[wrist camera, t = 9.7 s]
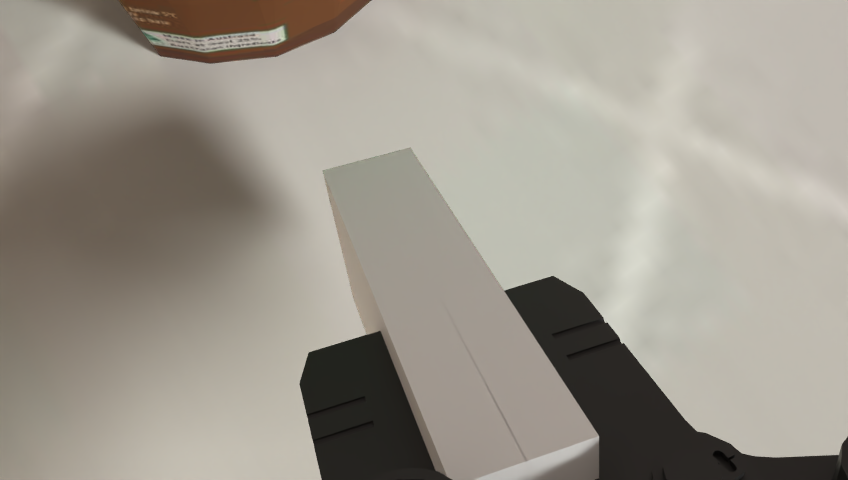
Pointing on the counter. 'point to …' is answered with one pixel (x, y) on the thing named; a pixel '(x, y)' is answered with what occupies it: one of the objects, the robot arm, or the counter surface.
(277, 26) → the food container
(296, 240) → the counter surface
